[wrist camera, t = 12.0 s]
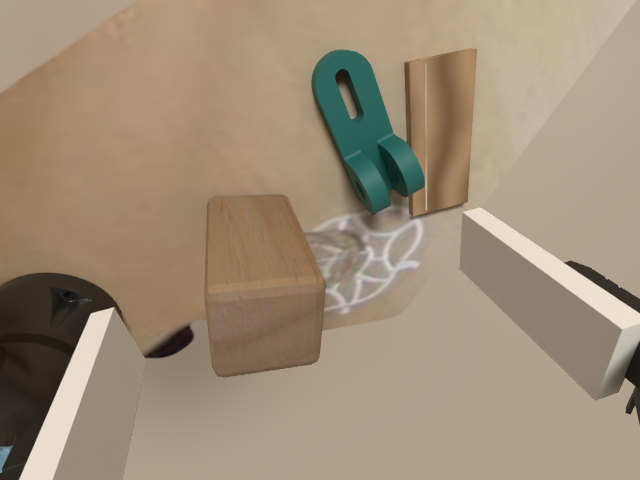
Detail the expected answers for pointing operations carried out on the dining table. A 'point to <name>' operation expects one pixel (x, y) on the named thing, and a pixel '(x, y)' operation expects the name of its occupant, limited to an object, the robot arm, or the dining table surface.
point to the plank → (441, 126)
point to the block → (260, 287)
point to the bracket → (365, 132)
